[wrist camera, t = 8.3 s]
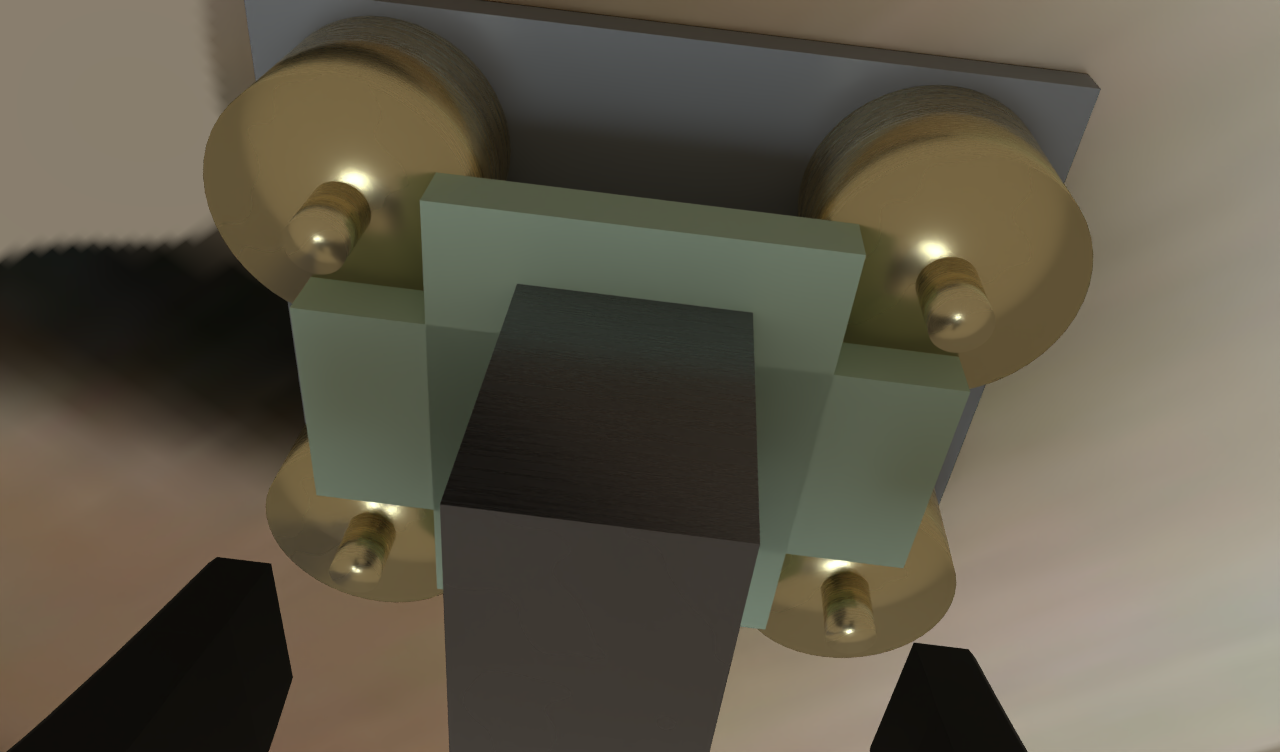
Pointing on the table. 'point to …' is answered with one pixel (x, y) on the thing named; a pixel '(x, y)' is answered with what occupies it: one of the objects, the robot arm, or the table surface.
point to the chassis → (665, 170)
